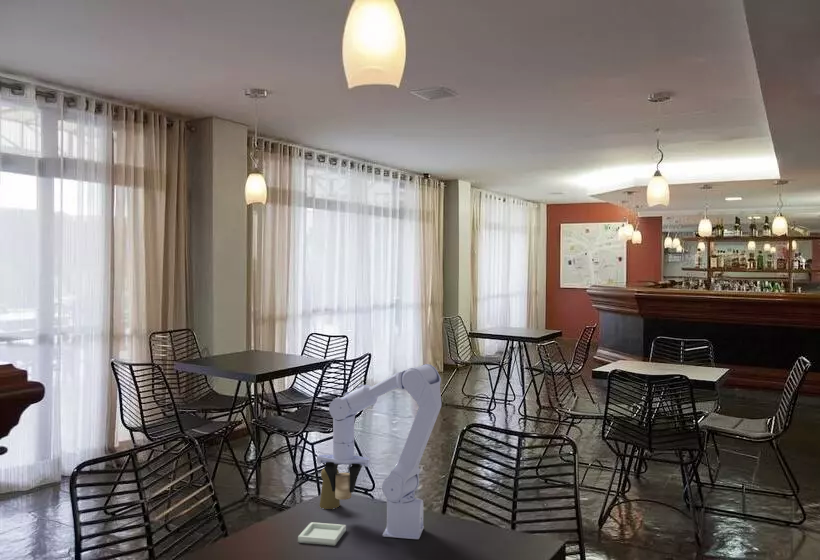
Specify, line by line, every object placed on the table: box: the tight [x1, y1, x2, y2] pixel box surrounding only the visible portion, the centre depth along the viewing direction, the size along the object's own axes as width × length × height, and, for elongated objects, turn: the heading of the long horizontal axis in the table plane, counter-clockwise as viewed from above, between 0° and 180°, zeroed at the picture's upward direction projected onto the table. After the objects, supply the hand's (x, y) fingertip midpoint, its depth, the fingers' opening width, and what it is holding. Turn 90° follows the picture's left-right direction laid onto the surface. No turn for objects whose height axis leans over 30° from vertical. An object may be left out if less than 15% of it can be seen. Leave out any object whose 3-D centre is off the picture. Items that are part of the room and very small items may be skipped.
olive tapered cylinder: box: [318, 468, 341, 510], centre depth 184 cm, size 6×6×11 cm
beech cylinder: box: [335, 472, 352, 501], centre depth 173 cm, size 4×4×6 cm
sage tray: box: [297, 521, 347, 547], centre depth 162 cm, size 10×10×2 cm
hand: (343, 490), depth 173 cm, fingers closed on beech cylinder, 4 cm apart
